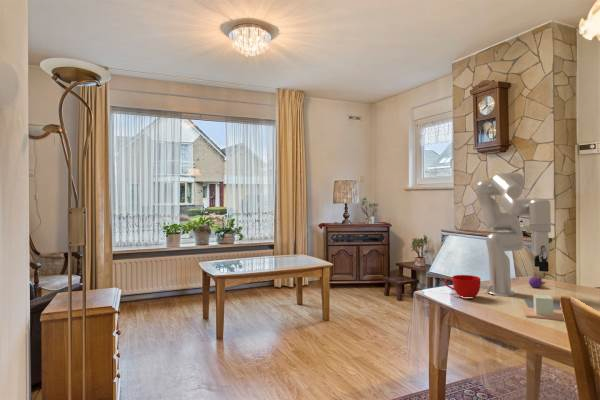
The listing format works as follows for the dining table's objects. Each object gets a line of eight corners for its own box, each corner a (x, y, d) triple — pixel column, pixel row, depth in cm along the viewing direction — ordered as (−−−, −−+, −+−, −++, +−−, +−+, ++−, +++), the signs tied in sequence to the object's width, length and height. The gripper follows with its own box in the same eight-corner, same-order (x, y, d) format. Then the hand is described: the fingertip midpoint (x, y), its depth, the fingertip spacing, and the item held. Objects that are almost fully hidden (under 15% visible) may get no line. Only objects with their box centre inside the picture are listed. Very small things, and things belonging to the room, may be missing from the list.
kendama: (545, 275, 208) (542, 279, 193) (543, 285, 209) (540, 290, 193) (533, 272, 212) (529, 276, 196) (531, 282, 212) (527, 286, 197)
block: (536, 314, 150) (535, 297, 150) (533, 310, 156) (533, 294, 156) (553, 316, 148) (553, 299, 148) (550, 311, 153) (549, 295, 153)
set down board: (526, 317, 150) (525, 315, 150) (522, 310, 159) (522, 308, 159) (566, 320, 144) (566, 318, 144) (560, 313, 153) (560, 311, 153)
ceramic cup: (447, 292, 194) (447, 273, 194) (482, 295, 184) (481, 276, 184) (442, 298, 183) (441, 278, 183) (479, 302, 173) (478, 281, 173)
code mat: (528, 308, 162) (528, 307, 162) (523, 300, 174) (523, 299, 174) (572, 311, 155) (572, 310, 155) (563, 302, 168) (563, 302, 168)
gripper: (526, 226, 161) (527, 264, 161) (533, 230, 146) (534, 272, 146) (546, 226, 158) (547, 265, 158) (555, 230, 142) (557, 273, 143)
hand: (541, 268), depth 152 cm, fingers open, 9 cm apart
